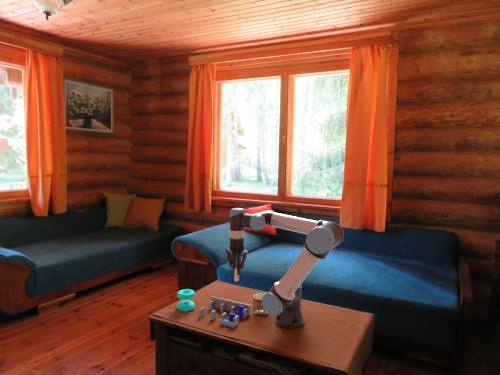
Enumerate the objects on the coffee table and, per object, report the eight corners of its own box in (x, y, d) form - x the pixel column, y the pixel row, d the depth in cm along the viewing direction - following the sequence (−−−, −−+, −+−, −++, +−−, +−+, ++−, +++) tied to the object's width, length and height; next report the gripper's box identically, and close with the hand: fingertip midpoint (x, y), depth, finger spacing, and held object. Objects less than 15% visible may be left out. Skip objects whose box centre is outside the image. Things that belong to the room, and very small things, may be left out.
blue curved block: (237, 314, 202) (237, 304, 202) (244, 316, 200) (244, 306, 200) (226, 323, 192) (226, 313, 191) (233, 325, 190) (233, 314, 189)
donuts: (185, 296, 201) (173, 292, 207) (185, 314, 202) (173, 309, 208) (198, 291, 209) (186, 286, 215) (198, 307, 210) (186, 303, 216)
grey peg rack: (250, 315, 202) (250, 304, 201) (236, 328, 187) (236, 316, 186) (212, 306, 213) (212, 296, 212) (196, 317, 198) (196, 306, 197)
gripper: (251, 237, 194) (250, 280, 197) (229, 234, 200) (229, 276, 202) (245, 240, 187) (244, 284, 190) (222, 237, 193) (222, 280, 195)
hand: (236, 280), depth 196 cm, fingers closed
